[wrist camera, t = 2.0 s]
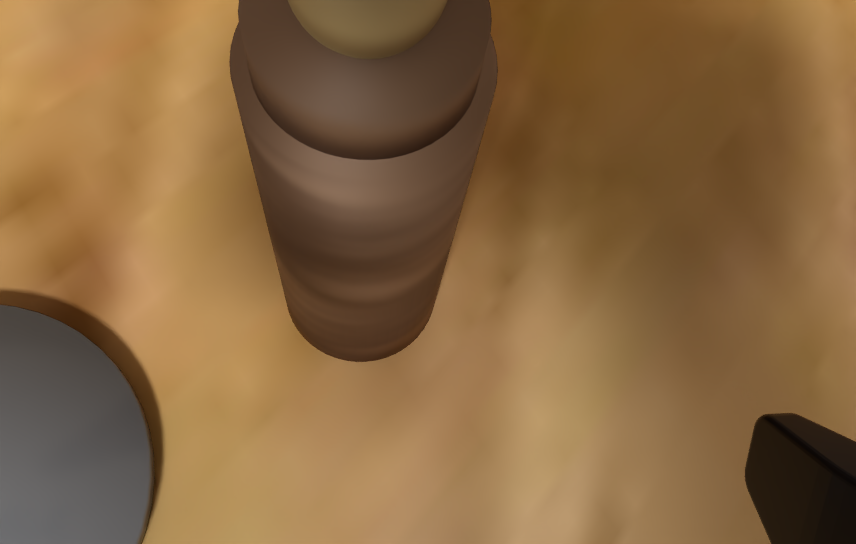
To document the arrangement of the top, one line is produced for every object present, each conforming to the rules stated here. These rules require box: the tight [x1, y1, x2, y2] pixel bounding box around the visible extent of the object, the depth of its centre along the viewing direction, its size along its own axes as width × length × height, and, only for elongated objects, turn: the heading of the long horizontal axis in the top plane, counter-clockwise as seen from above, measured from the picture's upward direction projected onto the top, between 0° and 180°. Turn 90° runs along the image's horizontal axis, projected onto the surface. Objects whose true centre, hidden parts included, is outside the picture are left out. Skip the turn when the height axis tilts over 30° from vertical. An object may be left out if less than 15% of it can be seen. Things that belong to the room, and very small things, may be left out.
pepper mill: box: [230, 0, 498, 362], centre depth 16 cm, size 4×4×14 cm
